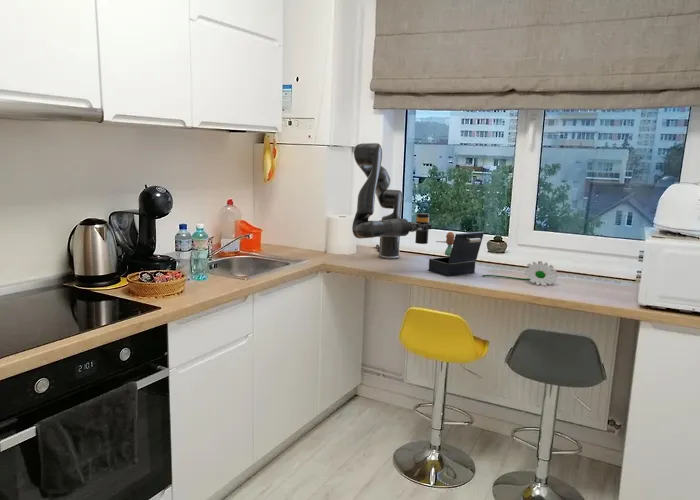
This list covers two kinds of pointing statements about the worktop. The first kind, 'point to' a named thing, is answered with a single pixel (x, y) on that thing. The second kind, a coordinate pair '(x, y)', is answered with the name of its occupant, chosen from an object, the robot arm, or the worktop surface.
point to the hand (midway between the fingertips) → (426, 225)
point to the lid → (466, 247)
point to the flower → (537, 273)
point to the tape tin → (423, 236)
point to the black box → (451, 267)
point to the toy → (448, 243)
